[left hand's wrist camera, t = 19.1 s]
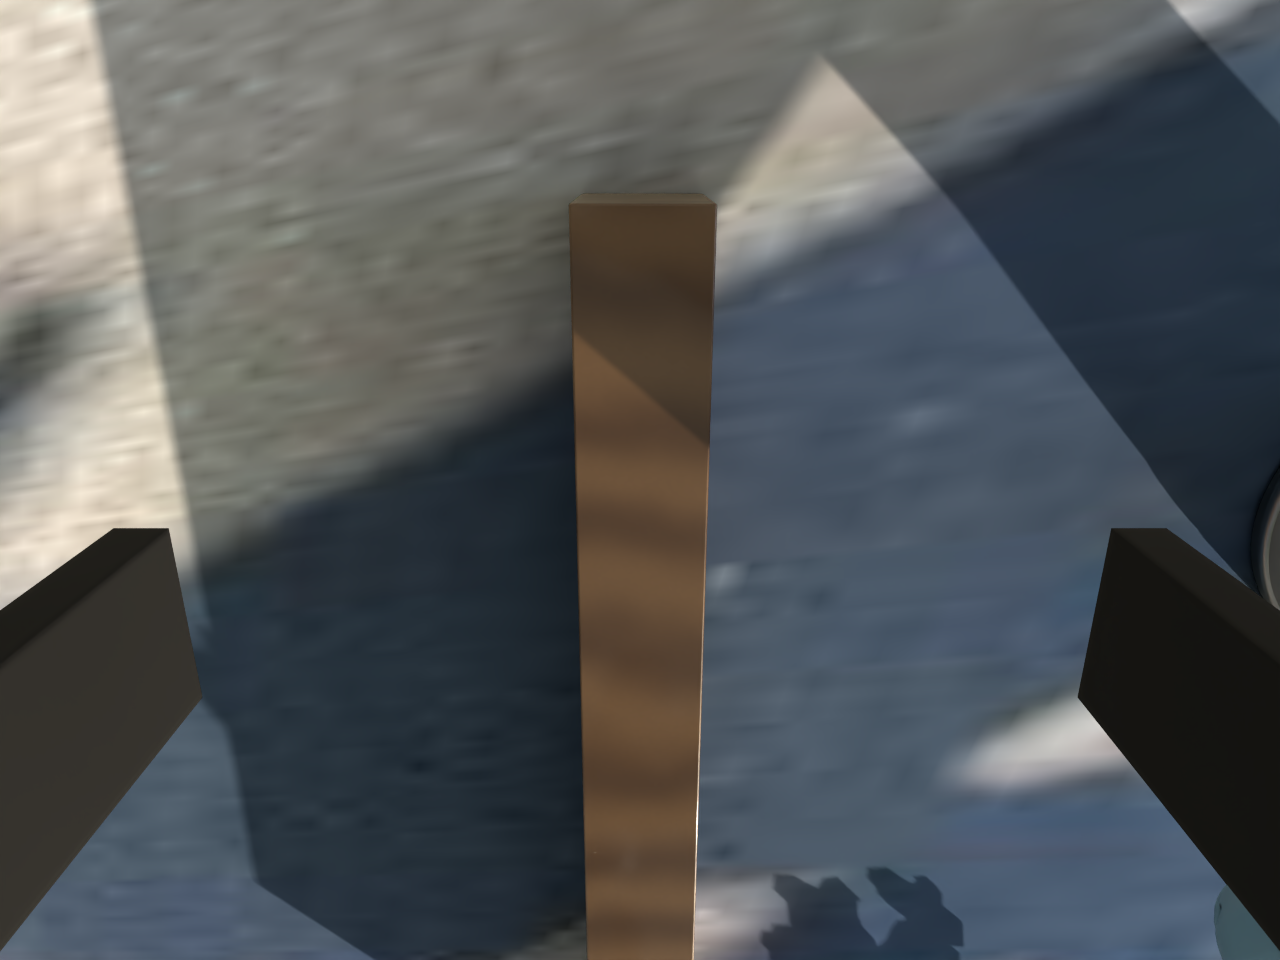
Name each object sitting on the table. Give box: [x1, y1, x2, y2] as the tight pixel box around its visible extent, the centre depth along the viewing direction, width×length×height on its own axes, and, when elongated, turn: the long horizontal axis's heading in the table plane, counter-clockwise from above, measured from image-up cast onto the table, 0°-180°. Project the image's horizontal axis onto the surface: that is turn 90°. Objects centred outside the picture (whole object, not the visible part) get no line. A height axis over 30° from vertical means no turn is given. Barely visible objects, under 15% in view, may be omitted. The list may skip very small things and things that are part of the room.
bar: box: [569, 193, 717, 960], centre depth 48 cm, size 60×6×8 cm, turn 0°
